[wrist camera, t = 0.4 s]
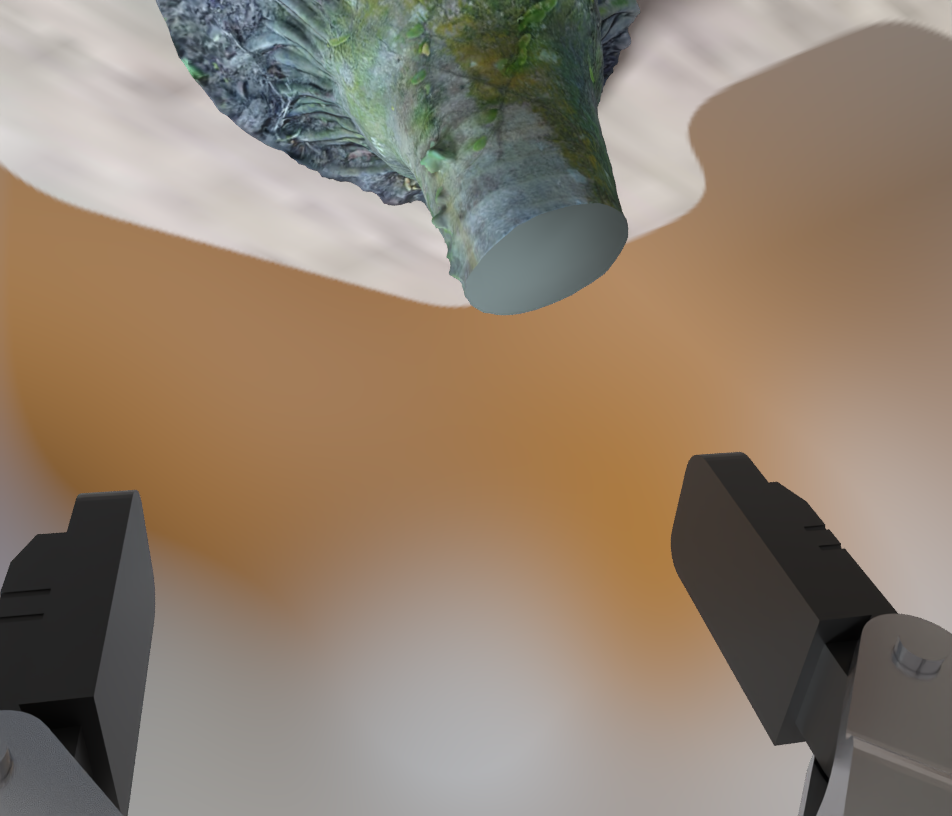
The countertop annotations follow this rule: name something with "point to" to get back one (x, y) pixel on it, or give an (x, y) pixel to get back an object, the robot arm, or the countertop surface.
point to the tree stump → (438, 119)
